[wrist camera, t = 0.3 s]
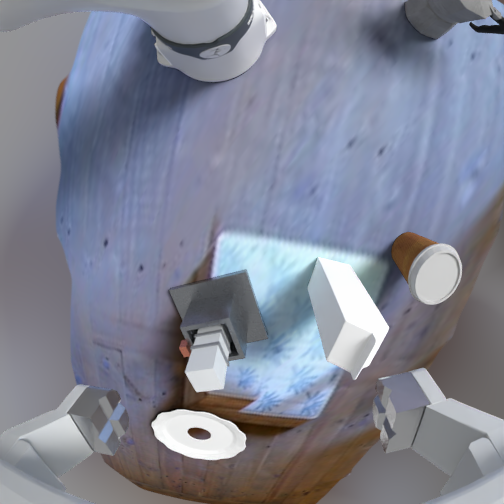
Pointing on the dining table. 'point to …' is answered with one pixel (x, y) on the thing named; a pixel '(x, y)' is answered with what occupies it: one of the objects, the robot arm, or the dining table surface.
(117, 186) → the dining table surface
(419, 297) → the disposable coffee cup
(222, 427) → the plate
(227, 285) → the stand
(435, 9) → the coffeepot
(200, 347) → the column
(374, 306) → the milk
